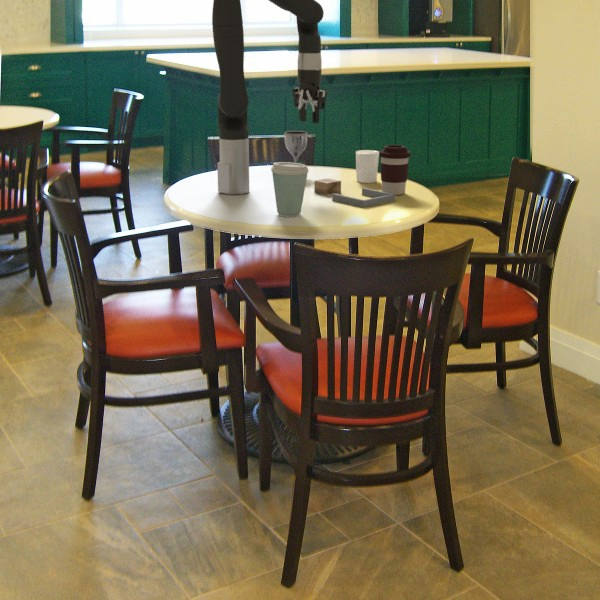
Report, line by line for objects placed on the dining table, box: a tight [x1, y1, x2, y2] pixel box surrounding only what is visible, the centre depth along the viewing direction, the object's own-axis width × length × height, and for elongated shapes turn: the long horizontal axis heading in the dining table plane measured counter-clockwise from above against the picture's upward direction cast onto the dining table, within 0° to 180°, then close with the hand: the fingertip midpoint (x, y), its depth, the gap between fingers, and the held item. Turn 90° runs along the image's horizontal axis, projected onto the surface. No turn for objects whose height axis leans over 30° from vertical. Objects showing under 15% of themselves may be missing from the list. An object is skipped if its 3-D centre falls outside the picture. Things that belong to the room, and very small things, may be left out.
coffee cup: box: [378, 144, 412, 196], centre depth 281 cm, size 10×10×15 cm
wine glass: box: [284, 130, 308, 163], centre depth 310 cm, size 8×8×15 cm
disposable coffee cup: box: [270, 161, 309, 218], centre depth 252 cm, size 11×11×15 cm
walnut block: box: [313, 177, 342, 196], centre depth 284 cm, size 6×6×4 cm
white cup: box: [355, 149, 380, 184], centre depth 301 cm, size 8×8×10 cm
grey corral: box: [331, 187, 397, 208], centre depth 273 cm, size 14×14×2 cm
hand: (309, 122), depth 284 cm, fingers open, 5 cm apart
